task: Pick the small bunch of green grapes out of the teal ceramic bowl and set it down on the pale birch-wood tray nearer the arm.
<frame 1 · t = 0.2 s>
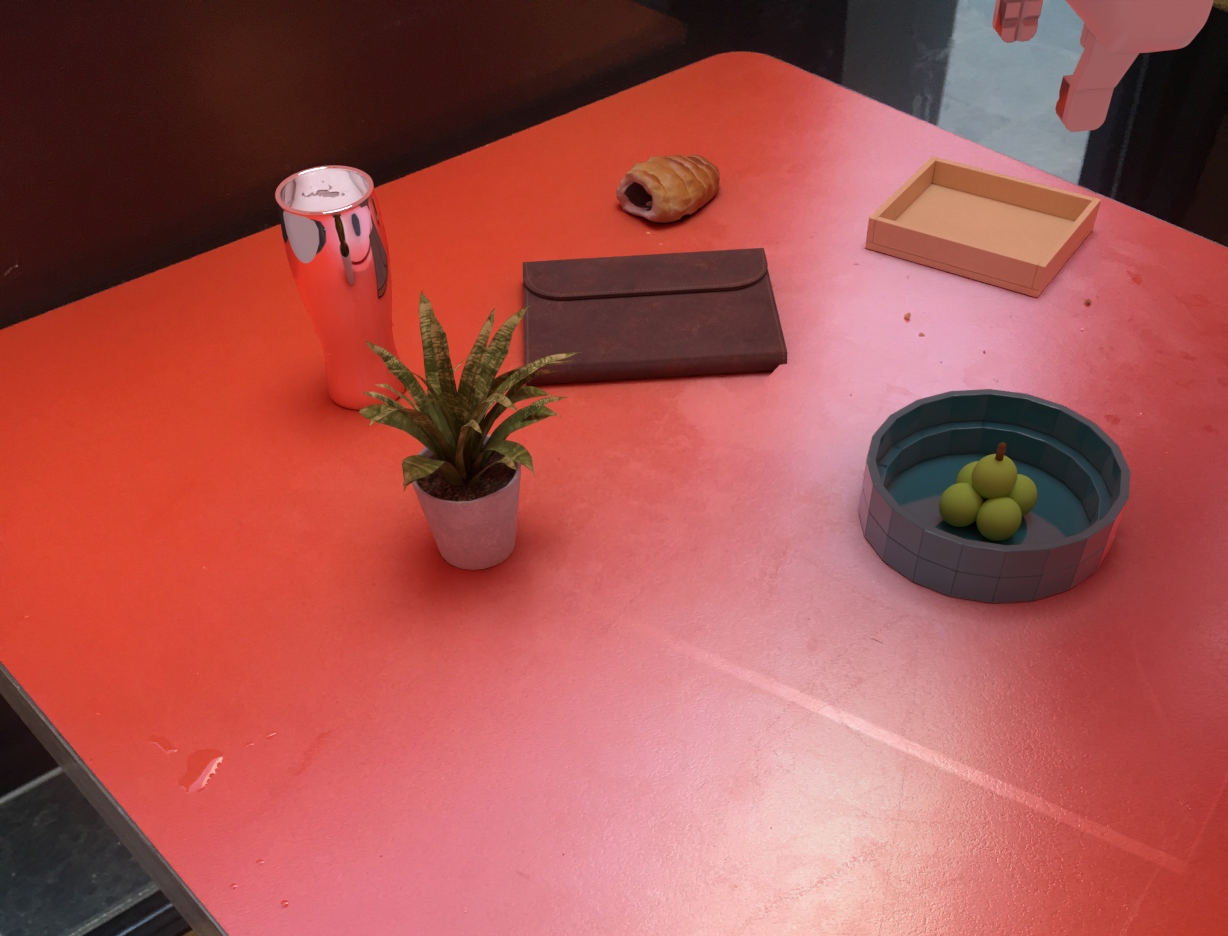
hand: (1043, 78, 57), 29 cm above the table, tool pointing down, fingers open, 8 cm apart
grapes: (983, 517, 81), point 1 cm above the table, touching bowl
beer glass: (368, 389, 94), on the table
house plant: (477, 559, 82), on the table
notebook: (649, 327, 98), on the table
pastry: (667, 205, 109), on the table
tray: (979, 239, 103), on the table
bowl: (981, 527, 82), on the table
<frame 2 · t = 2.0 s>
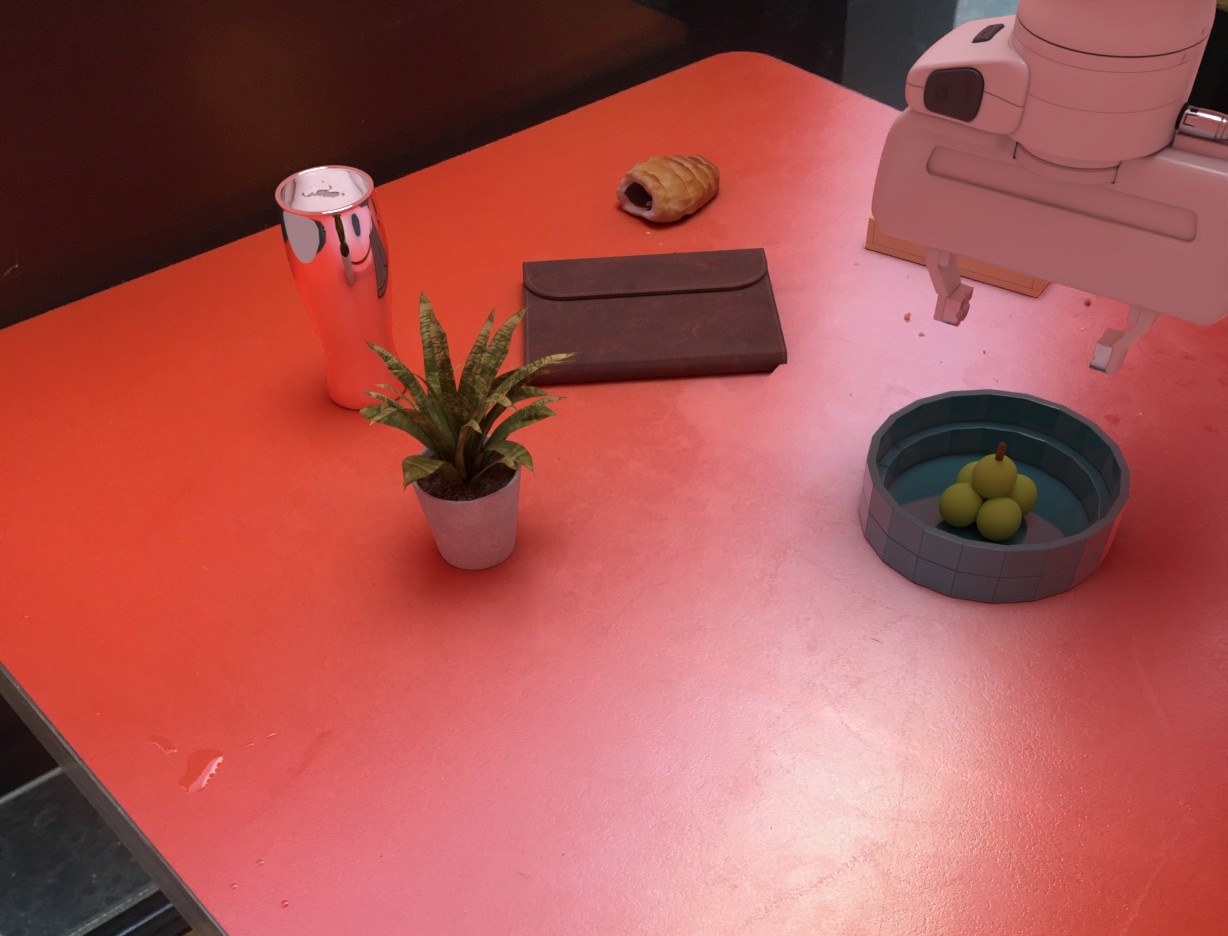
hand: (1025, 342, 71), 14 cm above the table, tool pointing down, fingers open, 8 cm apart
nothing on the table moved.
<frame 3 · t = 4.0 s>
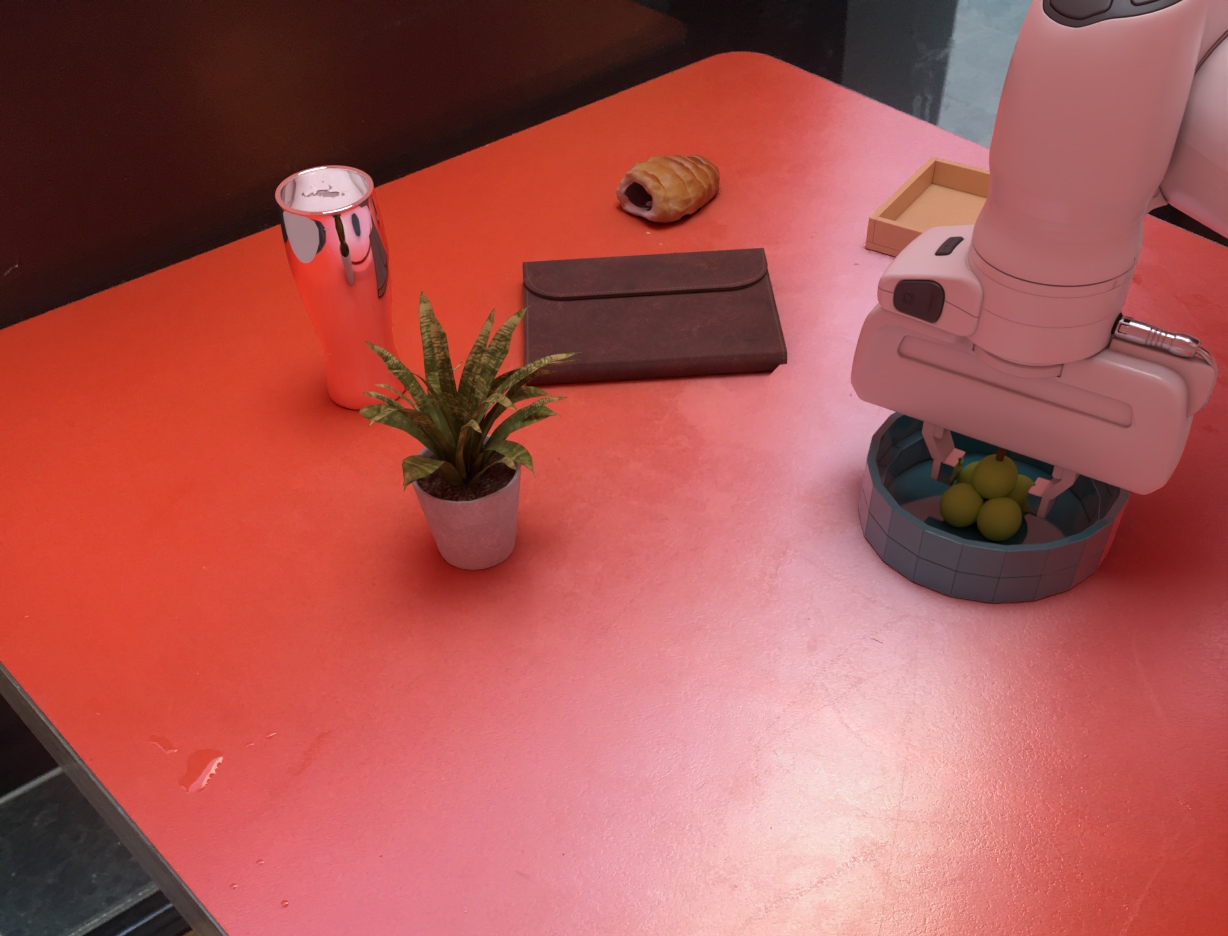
hand: (989, 494, 80), 3 cm above the table, tool pointing down, fingers closed on grapes, 5 cm apart
grapes: (984, 517, 81), point 1 cm above the table, touching bowl, gripper
everything else where it was.
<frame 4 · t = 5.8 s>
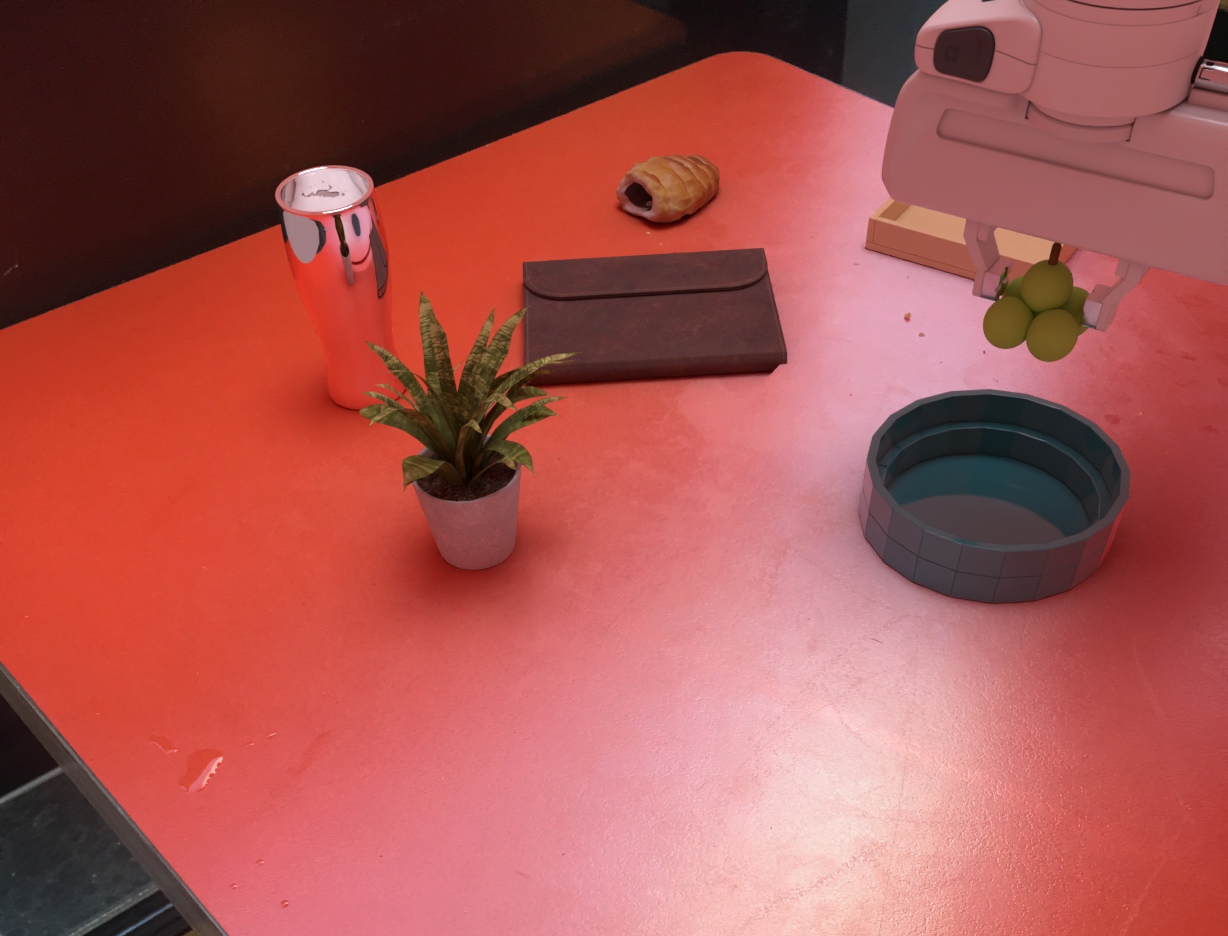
hand: (1040, 308, 70), 15 cm above the table, tool pointing down, fingers closed on grapes, 5 cm apart
grapes: (1033, 340, 71), point 13 cm above the table, touching gripper
everything else where it was.
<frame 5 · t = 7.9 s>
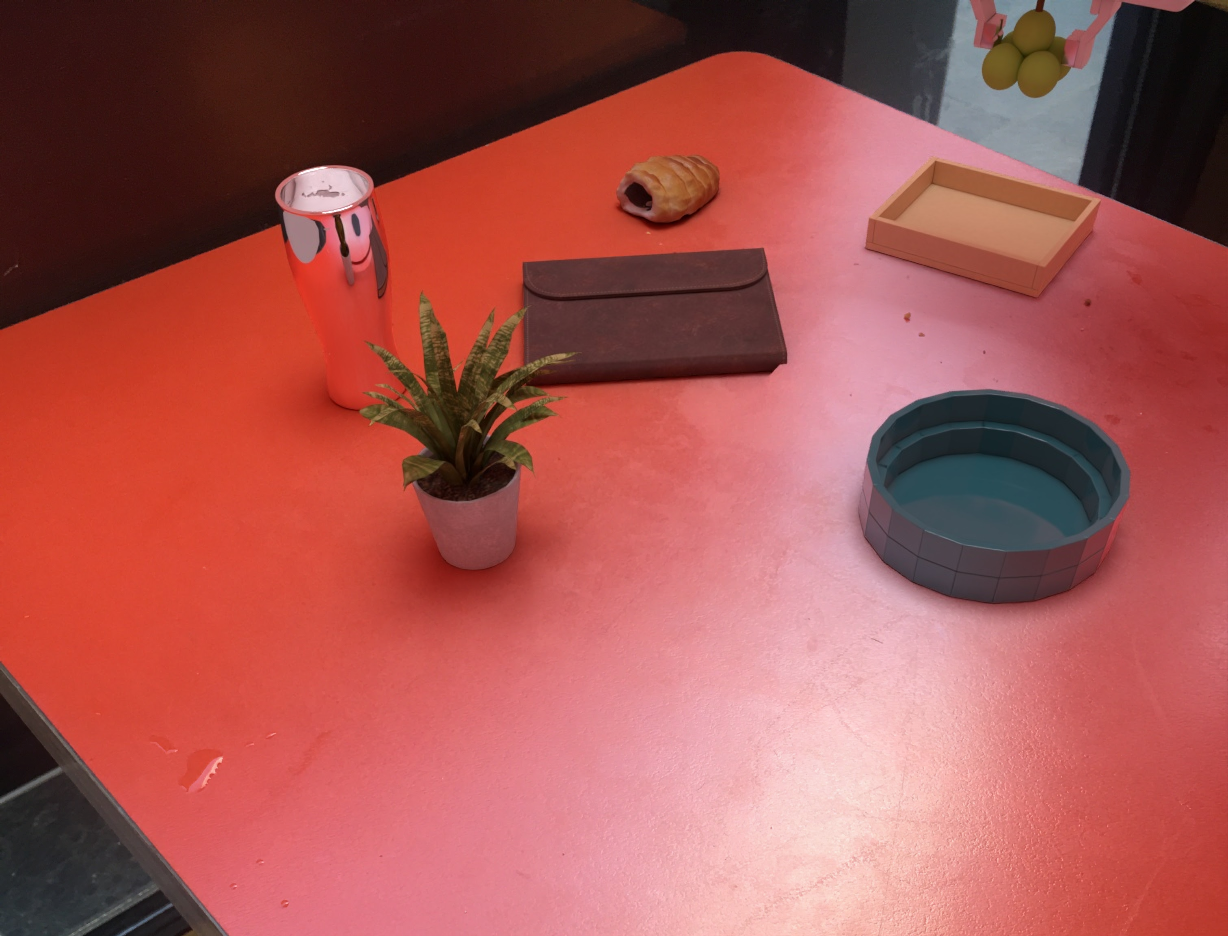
hand: (1029, 55, 85), 17 cm above the table, tool pointing down, fingers closed on grapes, 5 cm apart
grapes: (1023, 85, 87), point 15 cm above the table, touching gripper
everything else where it was.
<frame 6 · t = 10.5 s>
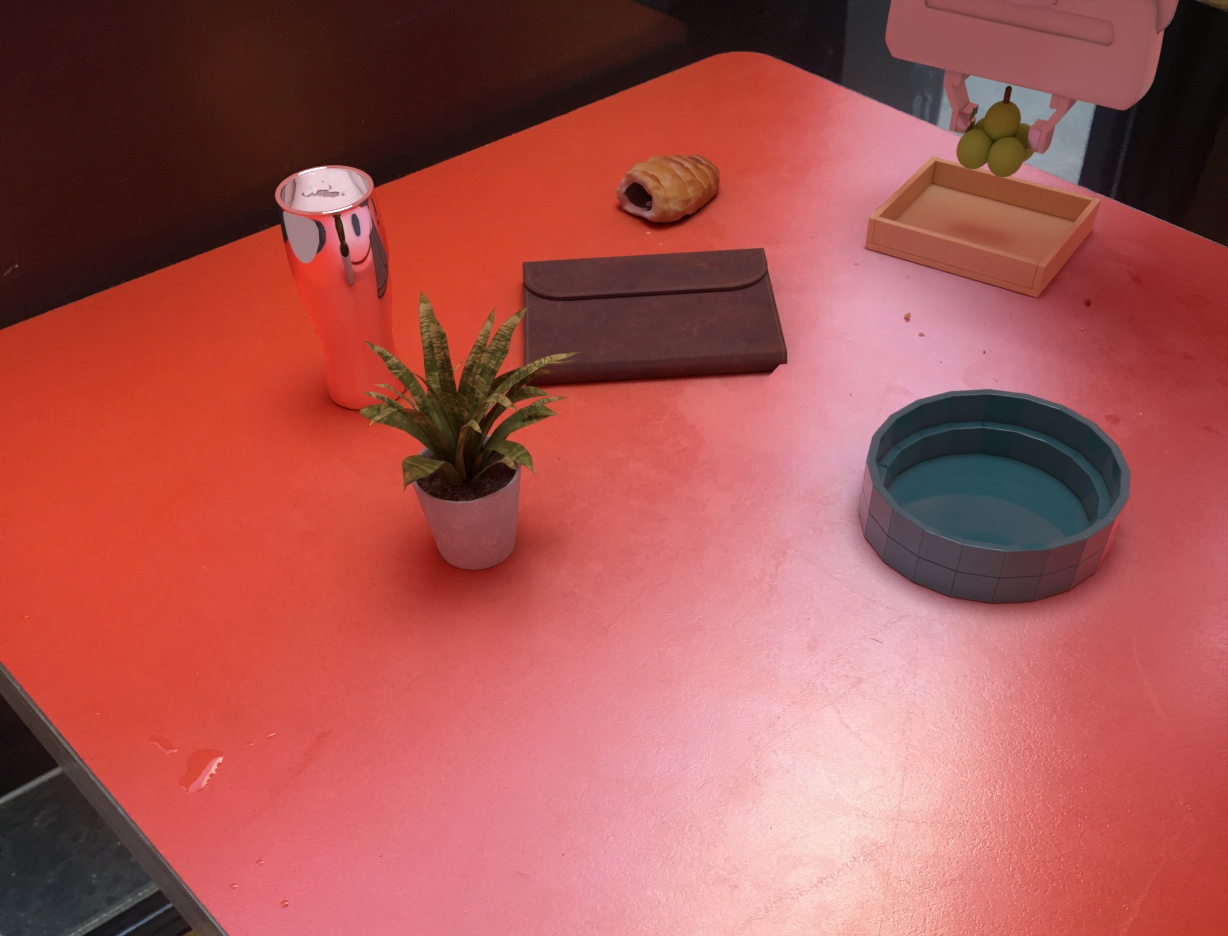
hand: (998, 139, 97), 8 cm above the table, tool pointing down, fingers closed on grapes, 5 cm apart
grapes: (993, 164, 98), point 6 cm above the table, touching gripper
everything else where it was.
when the fingers open (2 cm above the table, at t = 12.3 s): grapes stays where it is, resting on tray.
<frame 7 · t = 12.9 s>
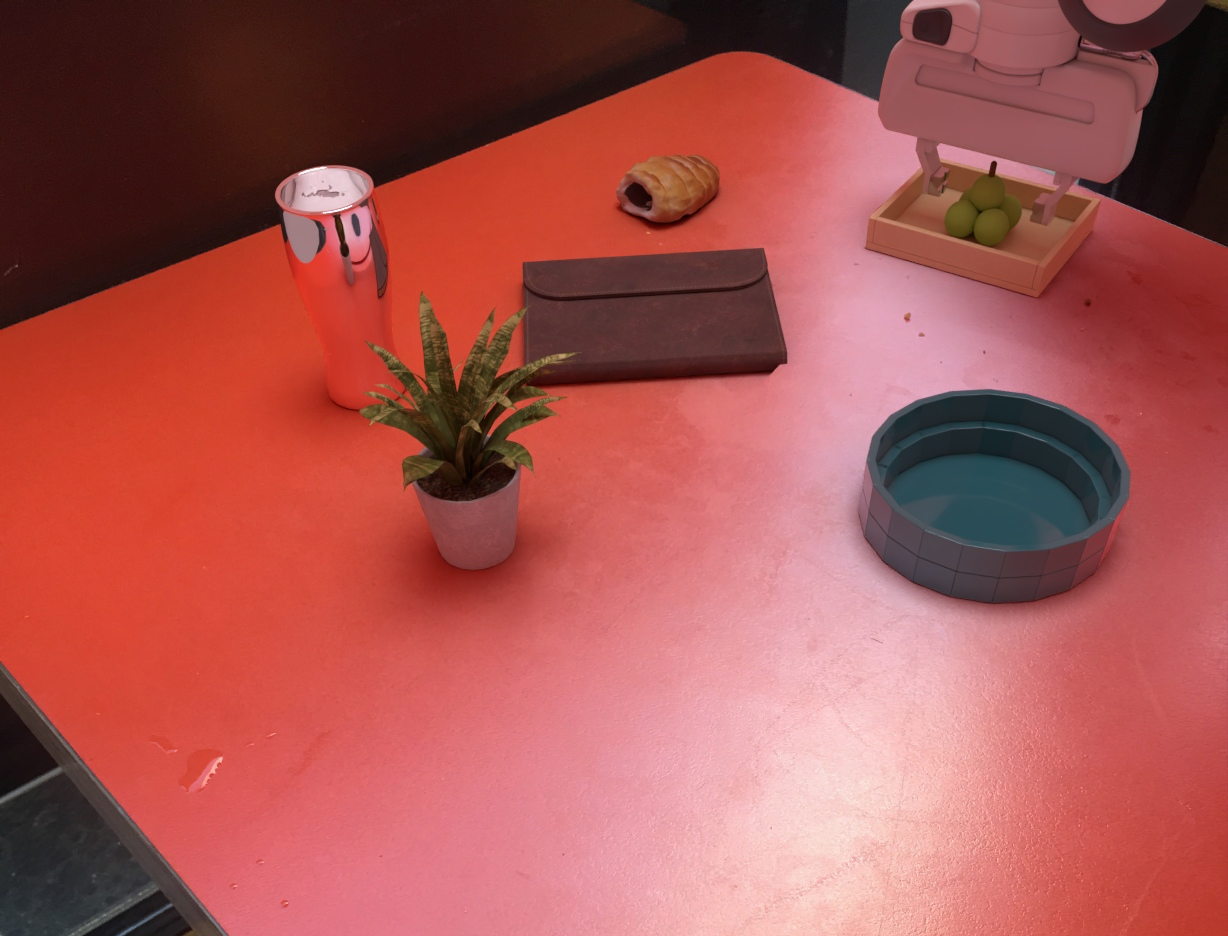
hand: (986, 206, 101), 3 cm above the table, tool pointing down, fingers open, 8 cm apart
grapes: (979, 232, 103), point 1 cm above the table, touching tray
everything else where it was.
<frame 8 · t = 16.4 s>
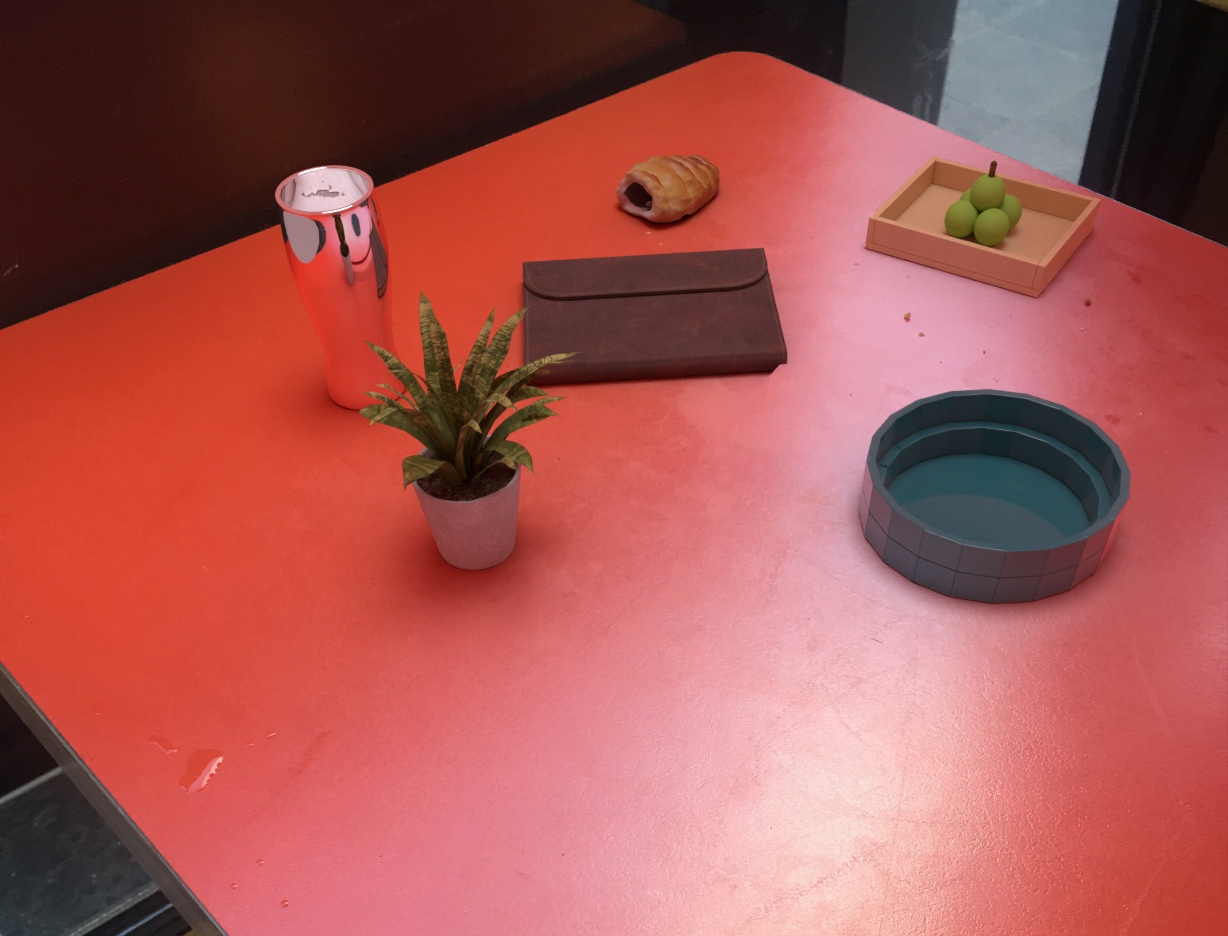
nothing on the table moved.
at the end: grapes inside the target area in the tray (0.1 cm from its centre), point 0.6 cm above the tray's base; grapes touching tray; the gripper is holding nothing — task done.
